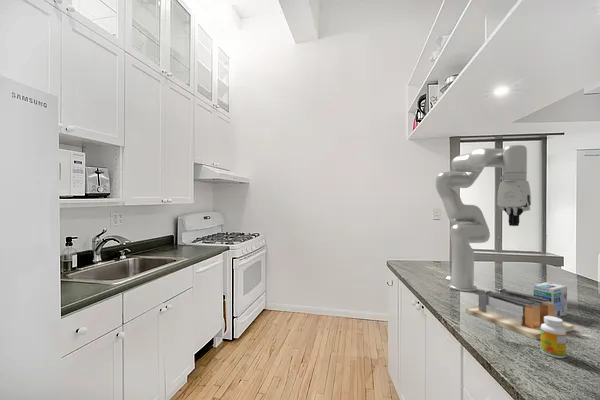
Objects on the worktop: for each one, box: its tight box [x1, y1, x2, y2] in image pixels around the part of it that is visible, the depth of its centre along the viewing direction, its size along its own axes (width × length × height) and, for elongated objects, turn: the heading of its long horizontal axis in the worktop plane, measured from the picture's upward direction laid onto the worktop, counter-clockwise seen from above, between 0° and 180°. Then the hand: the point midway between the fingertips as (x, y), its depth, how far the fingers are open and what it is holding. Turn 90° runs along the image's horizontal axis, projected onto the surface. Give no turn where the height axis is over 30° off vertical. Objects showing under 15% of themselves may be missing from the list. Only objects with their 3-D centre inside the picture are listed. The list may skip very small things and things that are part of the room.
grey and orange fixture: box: [478, 291, 555, 328], centre depth 106 cm, size 18×14×6 cm
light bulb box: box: [533, 281, 568, 318], centre depth 114 cm, size 11×7×11 cm, turn 117°
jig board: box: [465, 305, 575, 340], centre depth 106 cm, size 24×20×2 cm
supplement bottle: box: [539, 316, 567, 359], centre depth 83 cm, size 5×5×10 cm
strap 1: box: [483, 290, 535, 305], centre depth 105 cm, size 16×3×1 cm, turn 22°
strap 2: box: [497, 288, 549, 302], centre depth 108 cm, size 16×3×1 cm, turn 22°
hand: (513, 225), depth 115 cm, fingers closed
